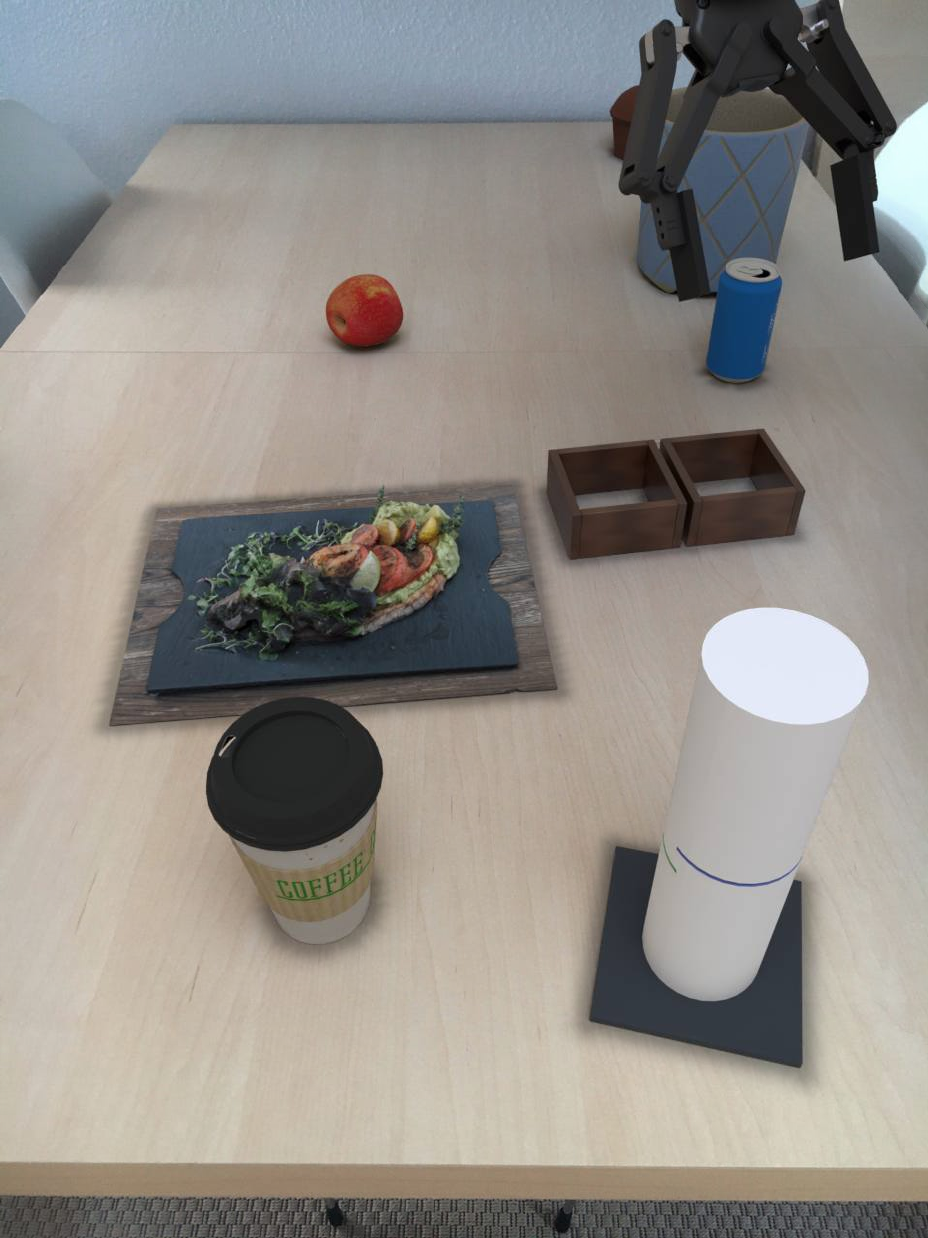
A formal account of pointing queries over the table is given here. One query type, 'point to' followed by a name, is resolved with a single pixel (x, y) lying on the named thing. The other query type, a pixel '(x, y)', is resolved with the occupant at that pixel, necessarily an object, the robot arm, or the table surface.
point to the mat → (645, 1004)
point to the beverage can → (743, 319)
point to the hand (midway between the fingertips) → (780, 277)
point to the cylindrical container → (747, 793)
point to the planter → (733, 183)
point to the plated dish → (333, 604)
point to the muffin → (623, 119)
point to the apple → (364, 310)
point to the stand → (672, 493)
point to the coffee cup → (301, 811)
